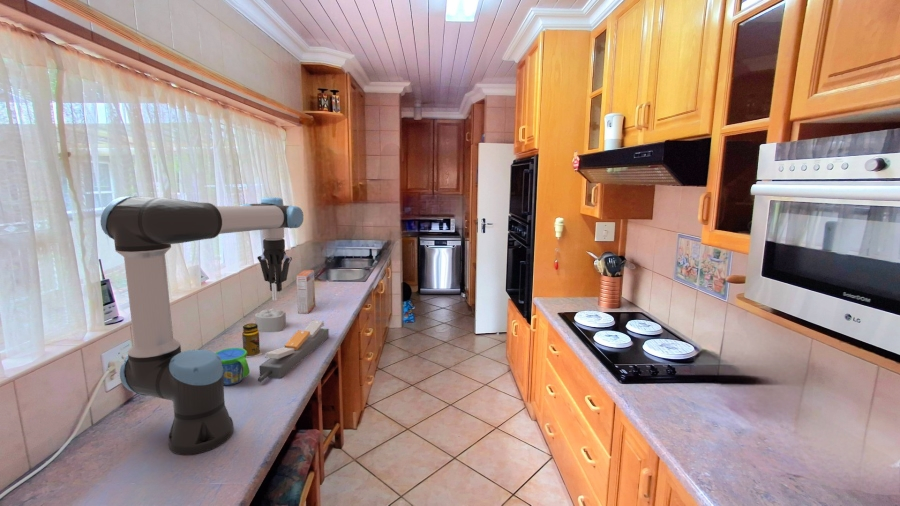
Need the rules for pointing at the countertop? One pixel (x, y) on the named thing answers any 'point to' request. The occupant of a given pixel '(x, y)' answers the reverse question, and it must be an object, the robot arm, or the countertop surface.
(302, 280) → the cracker box
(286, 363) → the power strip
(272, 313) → the lumpy-topped squat cylinder
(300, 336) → the rocker
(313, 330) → the white flat slab
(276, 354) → the rocker
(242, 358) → the snack cup
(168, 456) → the countertop surface
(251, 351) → the condiment
